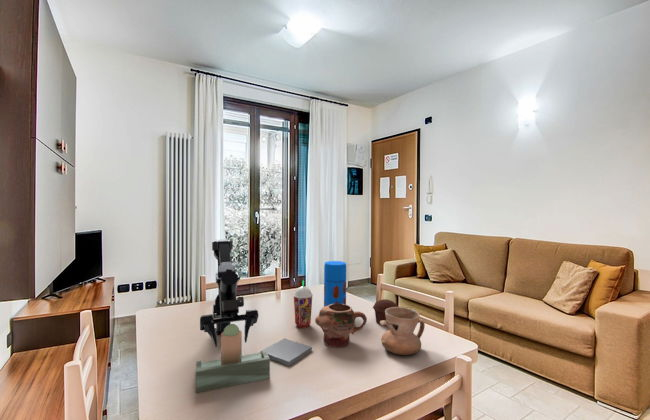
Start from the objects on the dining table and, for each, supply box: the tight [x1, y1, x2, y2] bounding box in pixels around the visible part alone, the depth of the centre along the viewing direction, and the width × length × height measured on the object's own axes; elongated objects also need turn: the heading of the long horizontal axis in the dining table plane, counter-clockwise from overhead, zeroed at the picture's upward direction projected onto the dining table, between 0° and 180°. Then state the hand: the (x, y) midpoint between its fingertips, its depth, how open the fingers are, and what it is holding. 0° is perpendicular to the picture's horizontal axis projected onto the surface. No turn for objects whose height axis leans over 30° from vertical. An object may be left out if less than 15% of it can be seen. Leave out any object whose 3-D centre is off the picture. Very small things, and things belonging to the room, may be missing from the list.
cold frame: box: [195, 349, 271, 394], centre depth 99 cm, size 13×21×6 cm, turn 112°
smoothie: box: [293, 280, 313, 329], centre depth 139 cm, size 8×8×20 cm
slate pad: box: [259, 337, 313, 367], centre depth 113 cm, size 13×13×2 cm
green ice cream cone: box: [220, 323, 243, 365], centre depth 101 cm, size 6×6×13 cm
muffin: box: [372, 298, 399, 327], centre depth 143 cm, size 12×11×10 cm
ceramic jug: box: [379, 306, 425, 356], centre depth 116 cm, size 18×14×14 cm
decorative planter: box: [314, 303, 368, 348], centre depth 122 cm, size 20×12×14 cm, turn 97°
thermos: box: [323, 260, 347, 307], centre depth 153 cm, size 11×11×25 cm
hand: (231, 344), depth 102 cm, fingers open, 9 cm apart
